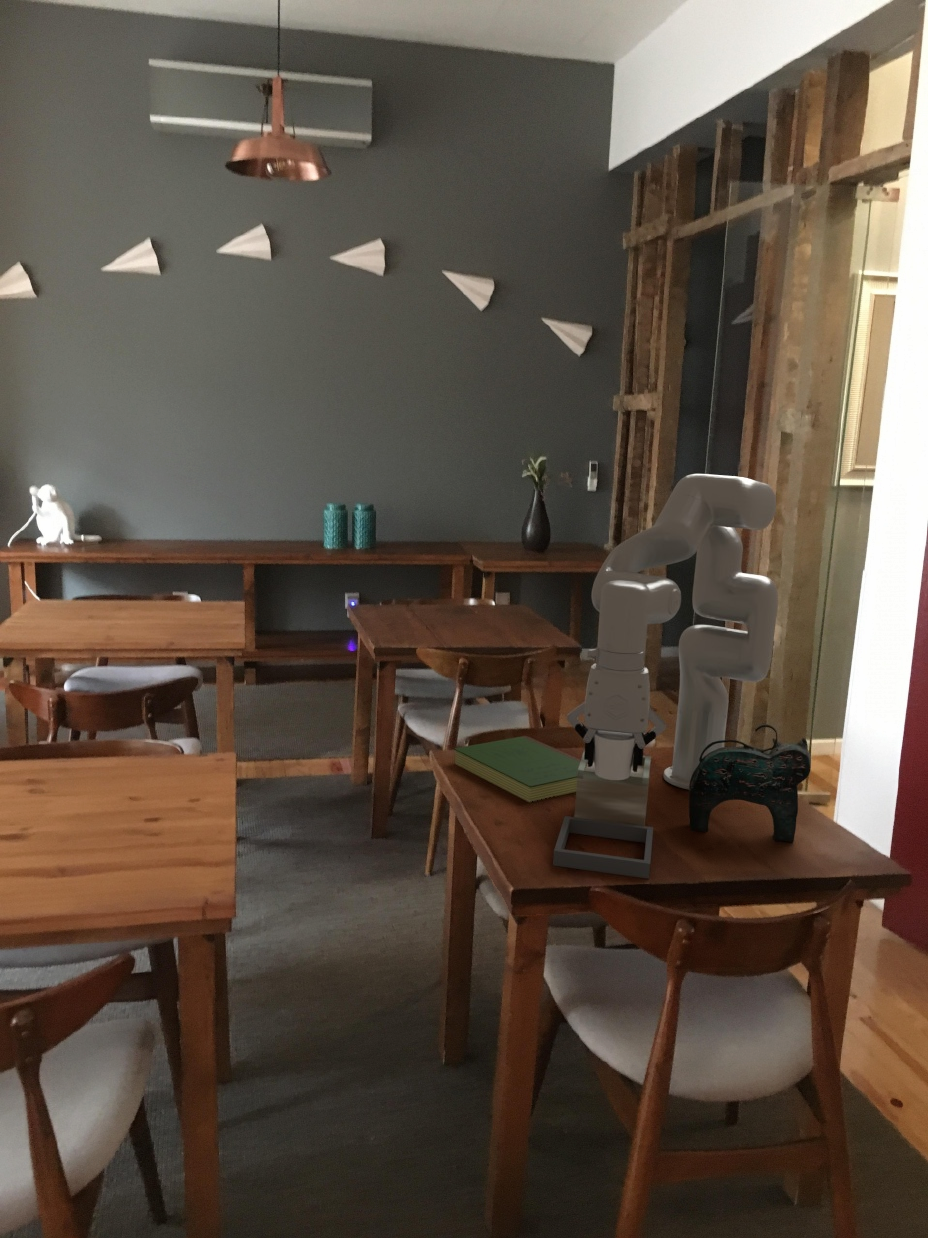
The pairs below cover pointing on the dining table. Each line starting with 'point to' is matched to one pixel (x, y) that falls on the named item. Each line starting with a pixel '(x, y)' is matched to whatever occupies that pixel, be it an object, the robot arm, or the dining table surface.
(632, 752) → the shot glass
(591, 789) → the stand
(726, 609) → the robot arm
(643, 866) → the dark grey square frame
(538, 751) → the hardcover book
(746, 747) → the ceramic cat
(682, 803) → the dining table surface
